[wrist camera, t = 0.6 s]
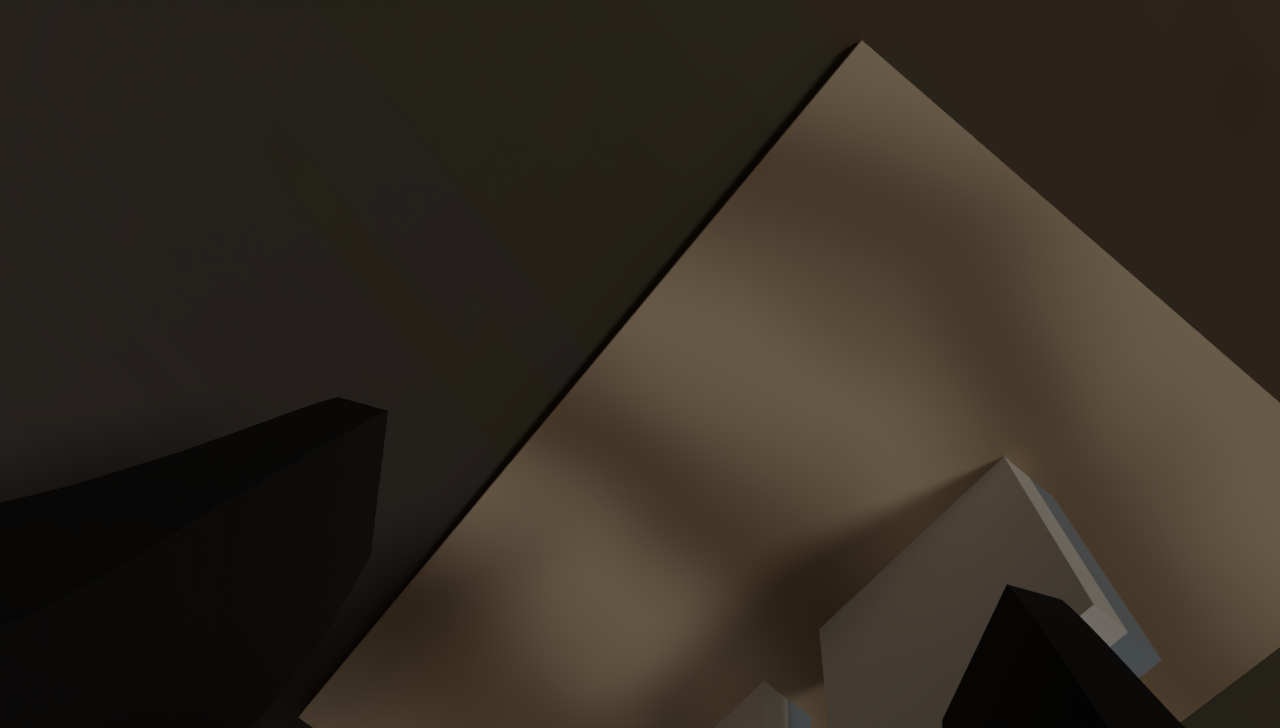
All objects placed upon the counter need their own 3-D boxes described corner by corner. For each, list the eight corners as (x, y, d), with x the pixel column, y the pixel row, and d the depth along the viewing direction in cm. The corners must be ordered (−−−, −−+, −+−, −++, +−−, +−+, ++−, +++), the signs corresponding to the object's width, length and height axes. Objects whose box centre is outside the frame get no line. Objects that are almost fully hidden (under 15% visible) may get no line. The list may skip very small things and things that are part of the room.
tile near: (866, 666, 23) (899, 867, 17) (818, 629, 23) (837, 819, 17) (1054, 497, 21) (1162, 660, 15) (1003, 456, 21) (1094, 604, 15)
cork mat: (752, 1032, 27) (752, 1046, 27) (305, 707, 26) (298, 717, 25) (1417, 524, 20) (1429, 533, 20) (859, 40, 19) (861, 40, 18)
